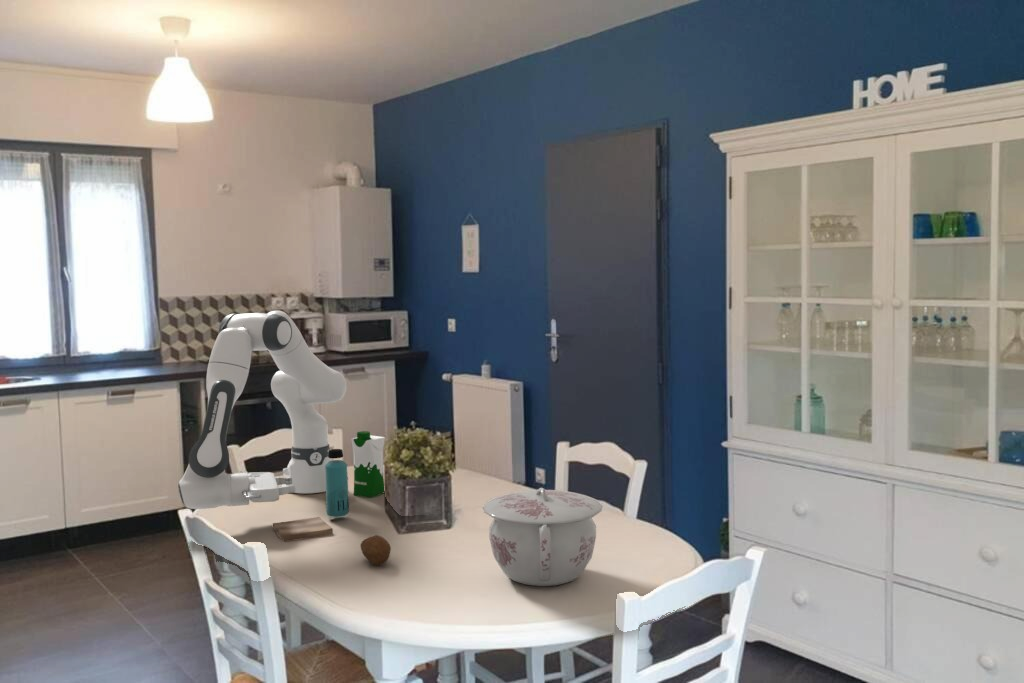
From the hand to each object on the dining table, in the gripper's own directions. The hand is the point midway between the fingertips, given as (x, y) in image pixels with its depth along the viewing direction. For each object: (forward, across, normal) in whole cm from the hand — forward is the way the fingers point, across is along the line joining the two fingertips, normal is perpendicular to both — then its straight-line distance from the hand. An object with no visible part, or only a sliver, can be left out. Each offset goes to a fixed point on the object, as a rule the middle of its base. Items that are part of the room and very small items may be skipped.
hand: (293, 484), depth 252 cm
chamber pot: (+50, -65, +11) cm, 82 cm away
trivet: (+1, -9, +11) cm, 14 cm away
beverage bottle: (+12, 0, +11) cm, 16 cm away
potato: (+15, -42, +11) cm, 46 cm away
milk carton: (+25, +24, +11) cm, 37 cm away
